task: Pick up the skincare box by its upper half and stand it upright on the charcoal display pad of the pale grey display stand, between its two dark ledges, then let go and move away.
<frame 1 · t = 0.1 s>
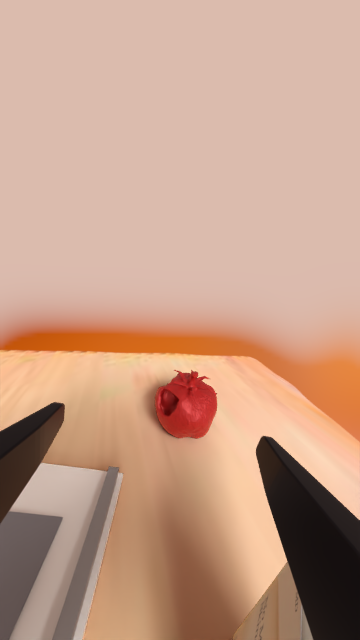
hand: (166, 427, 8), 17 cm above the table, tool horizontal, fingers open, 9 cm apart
pomegranate: (181, 420, 30), on the table
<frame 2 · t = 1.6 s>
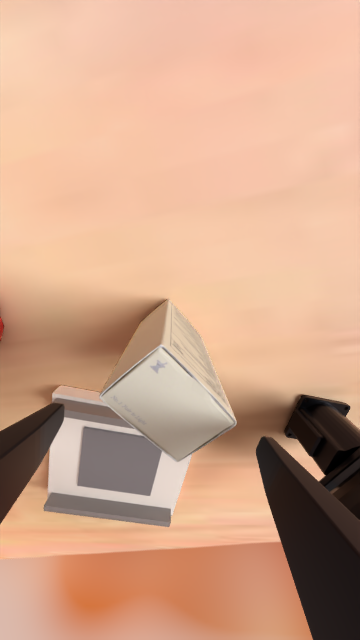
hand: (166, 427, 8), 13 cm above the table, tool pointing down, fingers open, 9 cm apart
display stand: (123, 451, 26), on the table
skincare box: (173, 329, 21), on the table
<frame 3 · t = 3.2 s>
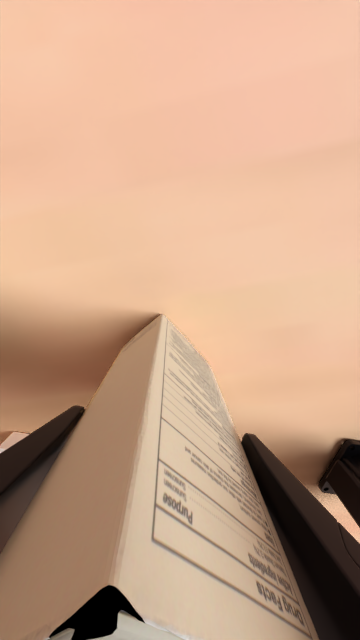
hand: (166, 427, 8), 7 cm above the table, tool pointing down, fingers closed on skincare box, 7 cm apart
skincare box: (170, 356, 15), on the table, touching gripper
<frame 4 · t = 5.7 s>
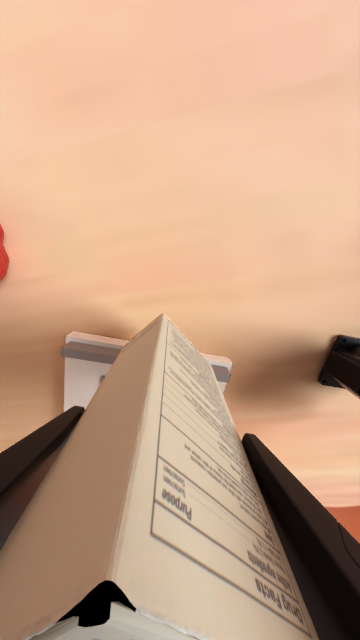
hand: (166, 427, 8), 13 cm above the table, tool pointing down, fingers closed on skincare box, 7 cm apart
display stand: (142, 408, 24), on the table
skincare box: (170, 355, 15), point 6 cm above the table, touching gripper
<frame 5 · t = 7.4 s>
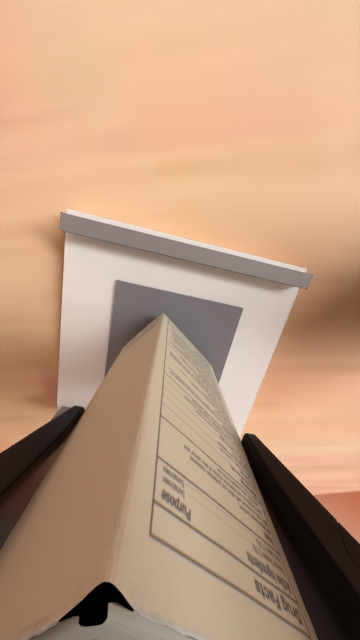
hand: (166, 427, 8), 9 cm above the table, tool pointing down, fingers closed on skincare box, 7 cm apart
display stand: (169, 343, 17), on the table
skincare box: (171, 355, 15), point 3 cm above the table, touching gripper
when the fingers open (9 cm above the table, at t = 8.6 s): skincare box stays where it is, resting on display stand.
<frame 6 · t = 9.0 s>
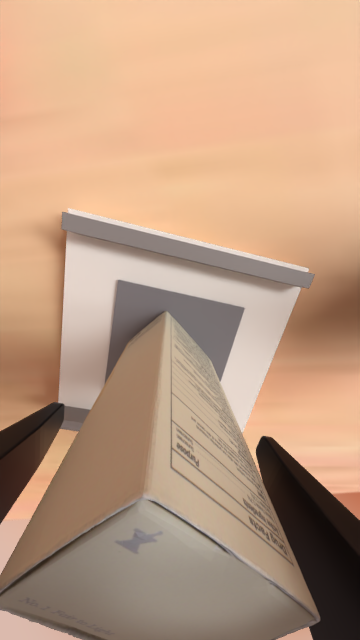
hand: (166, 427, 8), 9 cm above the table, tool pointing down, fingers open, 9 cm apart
display stand: (170, 343, 17), on the table
skincare box: (172, 350, 16), point 2 cm above the table, touching display stand
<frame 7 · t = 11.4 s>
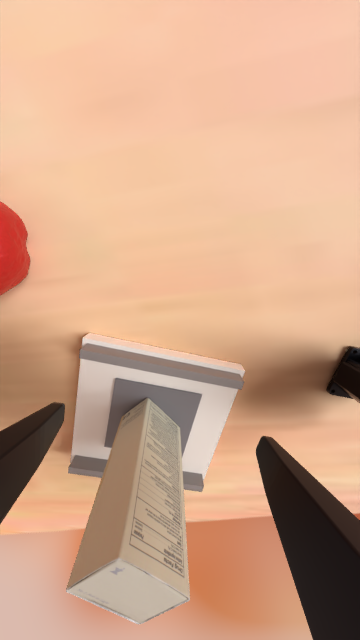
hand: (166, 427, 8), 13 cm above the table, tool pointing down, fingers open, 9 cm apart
display stand: (152, 410, 24), on the table
skincare box: (153, 420, 22), point 2 cm above the table, touching display stand
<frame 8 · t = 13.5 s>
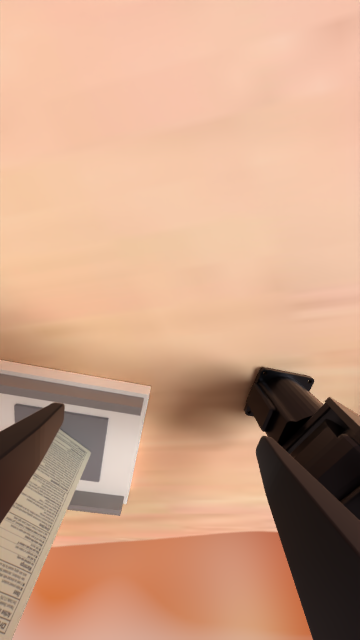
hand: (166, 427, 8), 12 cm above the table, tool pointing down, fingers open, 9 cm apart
display stand: (68, 433, 23), on the table
skincare box: (63, 445, 22), point 2 cm above the table, touching display stand
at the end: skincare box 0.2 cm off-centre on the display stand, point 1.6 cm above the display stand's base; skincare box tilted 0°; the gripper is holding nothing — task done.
